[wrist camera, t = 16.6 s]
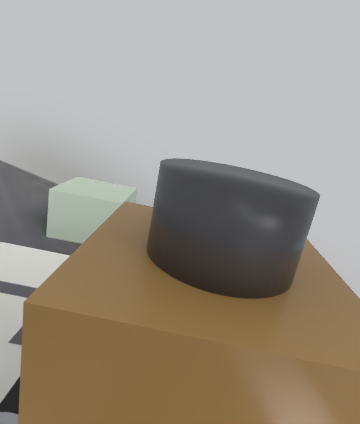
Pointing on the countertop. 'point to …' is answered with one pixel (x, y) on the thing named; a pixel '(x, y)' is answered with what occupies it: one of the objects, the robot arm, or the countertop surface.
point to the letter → (18, 301)
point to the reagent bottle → (195, 312)
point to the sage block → (83, 207)
